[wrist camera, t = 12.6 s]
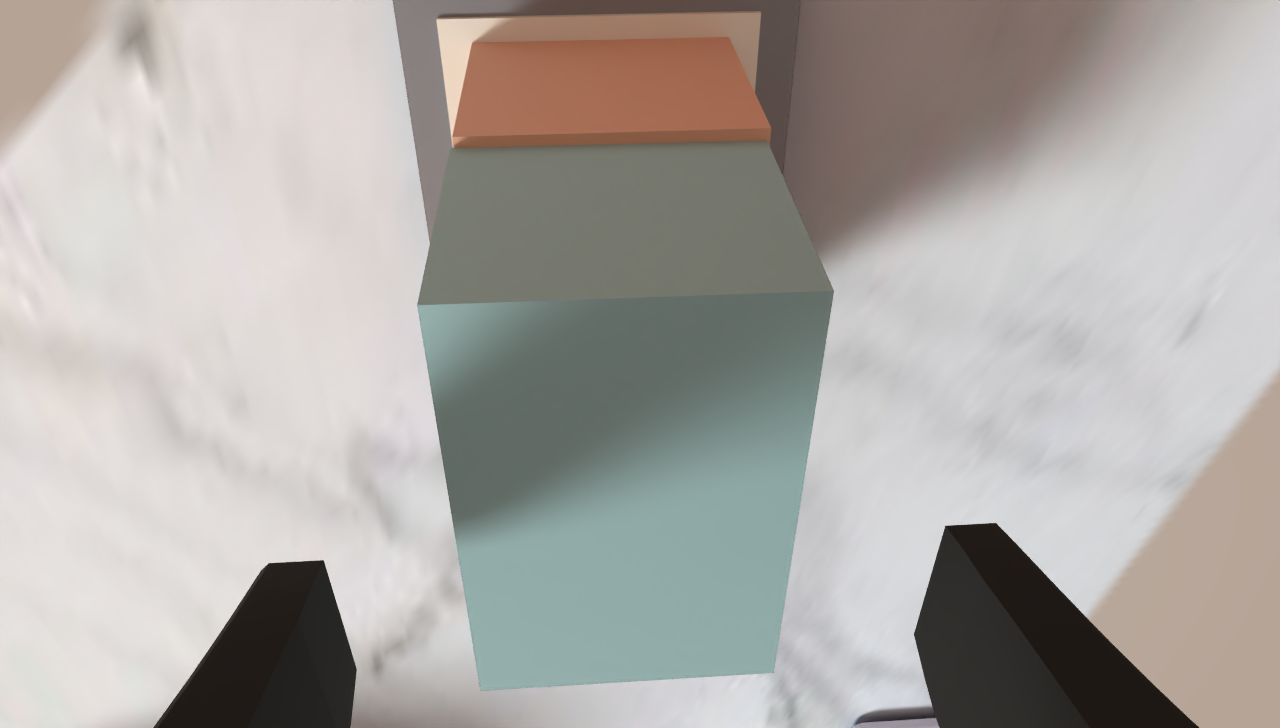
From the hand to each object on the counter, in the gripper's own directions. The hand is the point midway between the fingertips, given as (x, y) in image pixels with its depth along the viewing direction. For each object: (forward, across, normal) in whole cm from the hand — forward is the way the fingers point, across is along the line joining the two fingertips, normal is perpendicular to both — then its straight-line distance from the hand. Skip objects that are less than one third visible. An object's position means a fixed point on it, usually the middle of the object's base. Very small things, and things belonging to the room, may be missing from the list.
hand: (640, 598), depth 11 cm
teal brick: (+5, 0, 0) cm, 5 cm away
